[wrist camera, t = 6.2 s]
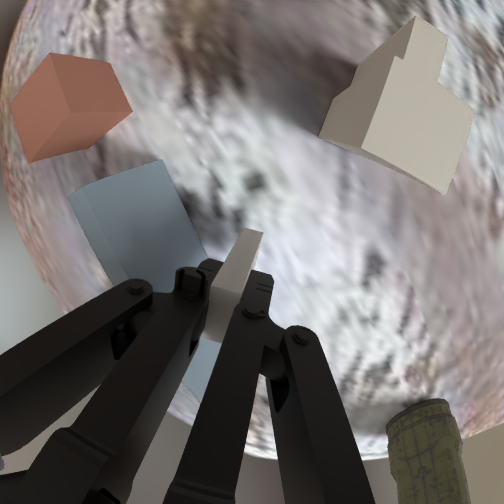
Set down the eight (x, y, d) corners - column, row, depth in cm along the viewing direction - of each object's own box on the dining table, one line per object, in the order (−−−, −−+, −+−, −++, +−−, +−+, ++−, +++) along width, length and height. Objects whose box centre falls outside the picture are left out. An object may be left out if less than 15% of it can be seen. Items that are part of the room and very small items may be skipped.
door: (147, 167, 16) (64, 199, 9) (164, 157, 15) (84, 184, 9) (244, 353, 21) (226, 432, 15) (260, 350, 21) (246, 432, 14)
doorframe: (346, 61, 12) (414, -14, 3) (385, 80, 12) (489, 39, 3) (212, 388, 25) (185, 475, 16) (236, 395, 25) (215, 483, 16)
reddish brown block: (69, 101, 15) (10, 105, 9) (110, 63, 13) (49, 52, 8) (89, 147, 16) (28, 163, 11) (133, 111, 15) (70, 113, 10)
